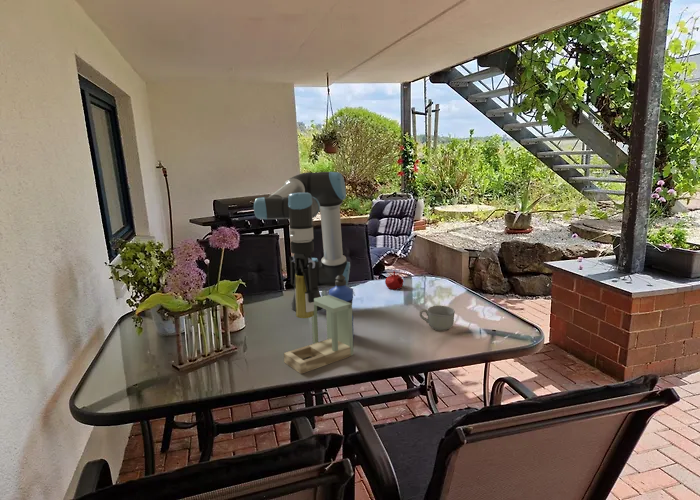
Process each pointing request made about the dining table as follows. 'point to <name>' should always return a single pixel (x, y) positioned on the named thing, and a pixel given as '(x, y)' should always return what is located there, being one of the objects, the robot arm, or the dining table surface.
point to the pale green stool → (334, 321)
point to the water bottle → (342, 291)
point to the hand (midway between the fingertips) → (304, 308)
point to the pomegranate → (394, 281)
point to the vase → (301, 298)
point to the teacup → (439, 317)
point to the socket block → (316, 355)
